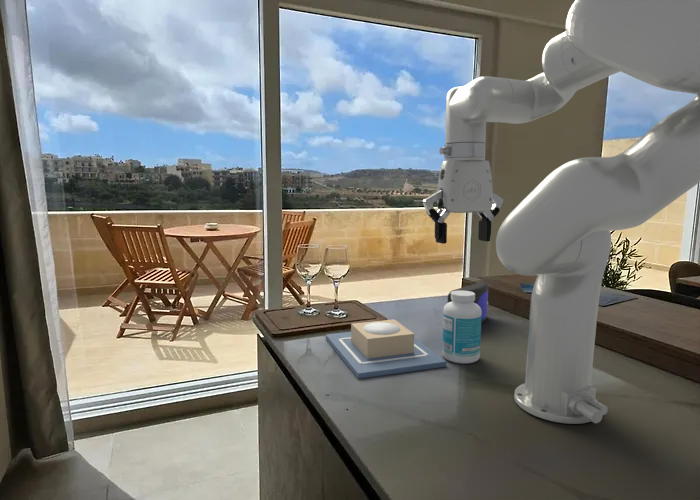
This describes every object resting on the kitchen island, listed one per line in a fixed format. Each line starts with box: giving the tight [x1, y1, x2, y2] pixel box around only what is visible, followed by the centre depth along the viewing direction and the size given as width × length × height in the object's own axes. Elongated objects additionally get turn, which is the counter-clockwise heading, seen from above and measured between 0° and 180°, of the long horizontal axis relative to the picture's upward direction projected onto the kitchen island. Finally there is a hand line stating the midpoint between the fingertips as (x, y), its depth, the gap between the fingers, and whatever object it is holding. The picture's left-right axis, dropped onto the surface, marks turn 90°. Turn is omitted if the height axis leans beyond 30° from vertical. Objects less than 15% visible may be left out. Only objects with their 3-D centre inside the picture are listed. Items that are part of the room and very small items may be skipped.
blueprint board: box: [325, 319, 447, 380], centre depth 98 cm, size 22×18×5 cm
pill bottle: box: [441, 290, 482, 365], centre depth 94 cm, size 8×7×14 cm
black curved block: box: [446, 281, 489, 324], centre depth 116 cm, size 16×5×9 cm, turn 134°
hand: (462, 241), depth 93 cm, fingers open, 9 cm apart
